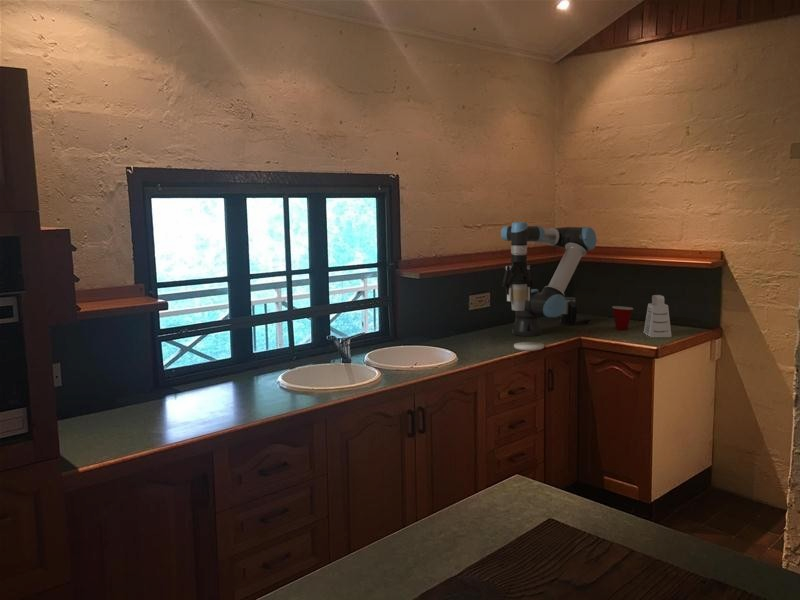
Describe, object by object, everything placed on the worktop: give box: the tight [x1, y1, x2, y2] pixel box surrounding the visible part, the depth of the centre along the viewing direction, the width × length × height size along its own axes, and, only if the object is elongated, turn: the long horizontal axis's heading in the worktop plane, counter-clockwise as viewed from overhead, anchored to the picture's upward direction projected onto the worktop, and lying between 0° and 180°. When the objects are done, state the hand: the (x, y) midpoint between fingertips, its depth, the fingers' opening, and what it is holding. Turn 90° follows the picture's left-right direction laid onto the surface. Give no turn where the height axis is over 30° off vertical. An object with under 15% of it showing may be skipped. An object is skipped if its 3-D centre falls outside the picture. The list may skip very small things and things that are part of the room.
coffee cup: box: [509, 278, 528, 311], centre depth 332 cm, size 9×9×15 cm
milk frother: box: [558, 296, 592, 326], centre depth 383 cm, size 14×16×15 cm
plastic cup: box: [611, 305, 634, 331], centre depth 365 cm, size 11×11×12 cm
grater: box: [643, 294, 672, 338], centre depth 346 cm, size 10×10×20 cm
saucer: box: [513, 341, 545, 351], centre depth 325 cm, size 14×14×1 cm
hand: (518, 300), depth 333 cm, fingers closed on coffee cup, 9 cm apart
